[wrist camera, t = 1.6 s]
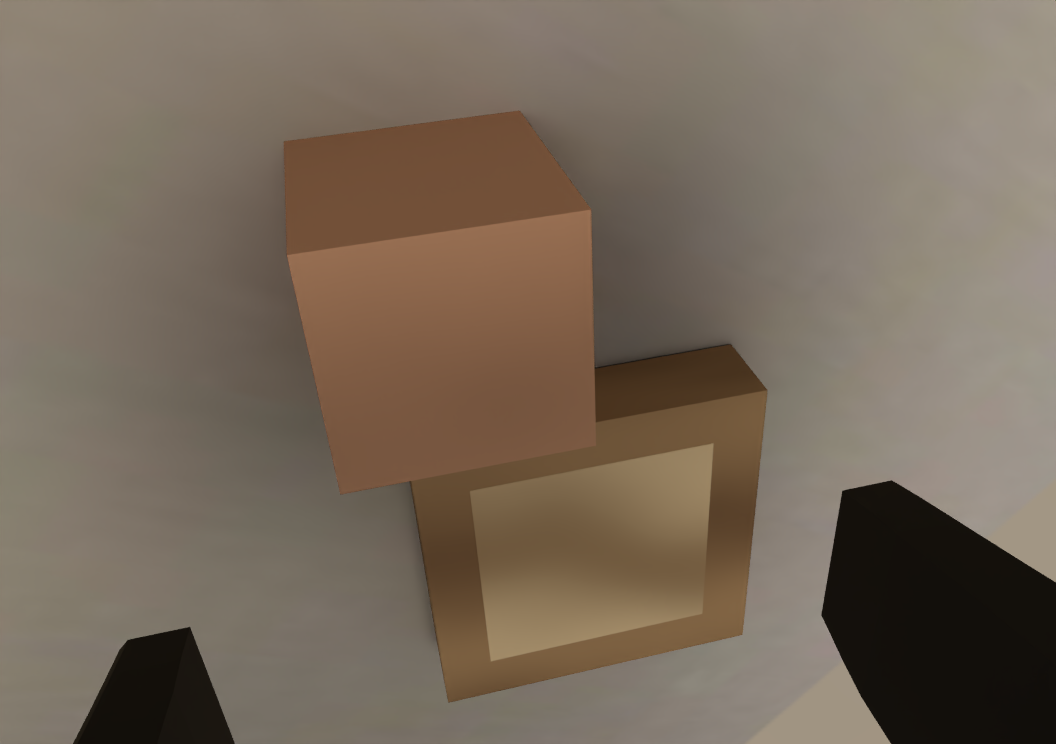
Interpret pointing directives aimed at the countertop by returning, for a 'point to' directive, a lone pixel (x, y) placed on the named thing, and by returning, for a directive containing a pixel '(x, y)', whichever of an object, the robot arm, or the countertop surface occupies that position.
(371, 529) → the countertop surface
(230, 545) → the countertop surface
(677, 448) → the base slab
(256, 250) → the countertop surface
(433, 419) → the block
